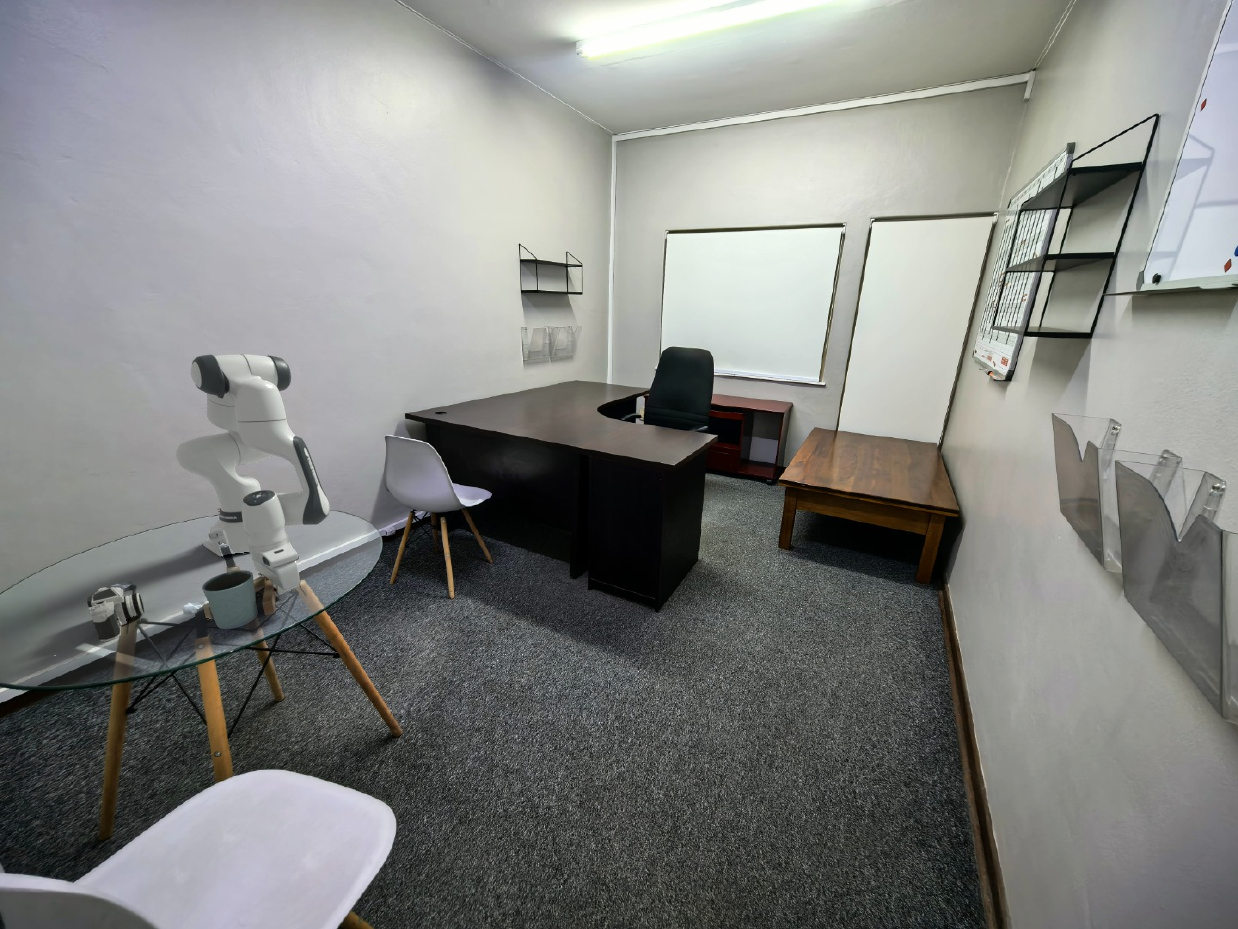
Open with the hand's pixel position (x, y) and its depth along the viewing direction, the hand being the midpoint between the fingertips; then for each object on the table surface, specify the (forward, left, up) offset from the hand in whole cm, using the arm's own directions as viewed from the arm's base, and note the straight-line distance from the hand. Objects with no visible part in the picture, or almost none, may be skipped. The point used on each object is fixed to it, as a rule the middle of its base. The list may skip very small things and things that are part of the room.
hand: (280, 592), depth 129 cm
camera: (-27, -23, -3) cm, 35 cm away
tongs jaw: (-10, +4, -2) cm, 11 cm away
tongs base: (-10, +4, -2) cm, 11 cm away
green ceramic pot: (-1, -11, -3) cm, 11 cm away
